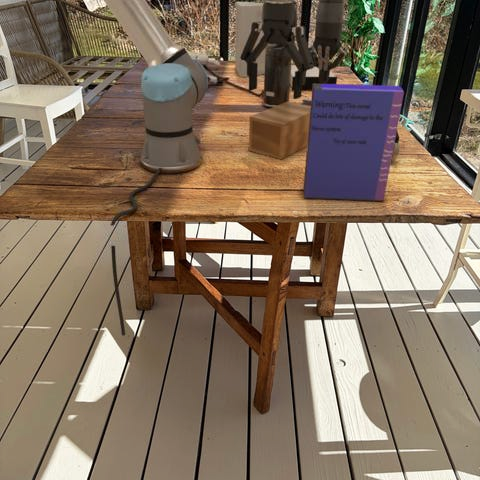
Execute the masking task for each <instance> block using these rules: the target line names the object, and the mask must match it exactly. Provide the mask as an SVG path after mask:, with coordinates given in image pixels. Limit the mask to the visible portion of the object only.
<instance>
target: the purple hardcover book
mask: <svg viewBox="0 0 480 480" xmlns="http://www.w3.org/2000/svg"><path fill="white" fill-rule="evenodd" d="M404 94H405V91H404V90H403V88H402V87H401V86H399V85H380V84H379V85H377V84H376V85H375V84H344V83H343V84H341V83H336V84H313V87H312V90H311V99H310V100H311V109H310V120H309V131H308V142H307V146H306V153H305V154H306V155H305V165H304V177H303V188H302V189H303V190H302V191H303V197H304V199H317V200H343V201H344V200H345V201H346V200H347V201H366V202H367V201H368V202H369V201H370V202H384V201H385V195H386V190H387V184H388V178H389V174H390V168H391V164H392V158H393V156H392V153H393V148H394V142H395V137H396V132H398V126H399V120H400V115H401V111H402V104H403V100H404V99H403V98H404Z"/></svg>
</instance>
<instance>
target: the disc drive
mask: <svg viewBox="0 0 480 480" xmlns="http://www.w3.org/2000/svg"><path fill="white" fill-rule="evenodd" d="M295 71H298V69H297V67H296V65H292V66H291V81H290V88H291V90H292V91H294V80H295ZM318 78H319V69H318V68H317V67H314V68H312V69H309V70H307V71H306V80H305V84H304V85H302V91H303V90H305V91H312V87H313V84H324V83H320V81H319V79H318ZM337 82H338V76H336V75H335V74H334V73H333V72H332V71H331V70H330V75H329V80H328V81H327V83H325V84H338V83H337Z"/></svg>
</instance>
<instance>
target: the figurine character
mask: <svg viewBox="0 0 480 480" xmlns="http://www.w3.org/2000/svg"><path fill="white" fill-rule="evenodd" d="M399 141H400V135H399V131H397V132H396V137H395V142H394V148H393V153H392V157H398V155H399V153H400V152H399V151H400V142H399Z"/></svg>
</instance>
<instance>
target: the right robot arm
mask: <svg viewBox="0 0 480 480" xmlns="http://www.w3.org/2000/svg"><path fill="white" fill-rule="evenodd" d="M265 2H266V0H263V2H262V3H263V4H264V3H265ZM317 3H318V4H317V8H316V16H315V29H314V40H313V41H312V45H311V46H308V47H309V50H310V53H311V57H312V60H313V63H314V67H317V68H318V69H319V78H318V79H319V81H320V83H324V84H325V83H327V81H328V80H329V75H330V71H331V70H333V69H336V68H337V67H338V66H339V65H340V64H341V63H342V61H343V60H344V59H345V58H346V57H347V56H348V54H349V53H348V51H345V50H344V49H343V48H342V41H341V40H342V35H343V27H344V26H343V25H344V17H345V16H344V15H345V0H318V2H317ZM263 21H264V20H263V8H262V16H261V22H262V24H263ZM293 26H294V27H298V9H297V7H296V6H295V10H294V20H293ZM291 37H292V39H293V40H294V42H295V43H294V44H295V45H296V37H295V36H294V33H293V34H292V35H291ZM287 42H288V41H287ZM315 52H317V54H318V55H316V53H315ZM336 56H337V57H336ZM334 57H336V58H335V59H334ZM292 64H293V60H292V58H291V57H290V55H289V53H288V51H287V50H286V48H284V46H283V45H277V44H268V45H267V46H266V48H265V72H264V74H263V76H264V77H263V89H261V93H256V92H254V91H253V90H249V88H245V87H243V86H240V85H237V84H236V83H233V82H231V81H229V80H228V81H225V82H224V83H227V84H229V85H231V86H233V87H236V88H238V89H241V90H244V91H246V92H248V93H250V94H252V95H254V96H256V97H261V98H262V99H263V101H262V105H263V107H265V108H268V109H270V108H273V107H275V106H278V105H280V104H283V103H285V102H290V96H291V95H290V94H291V84H290V81H291V66H293V65H292ZM203 67H204V68H205V69H207V70H208V72H210V73H211V74H212V75H214V76H217V75H218V74H216V72H214V71H213V70H212V69H210V68H209V67H208V66H207V65H203ZM218 77H220V76H219V75H218Z"/></svg>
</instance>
